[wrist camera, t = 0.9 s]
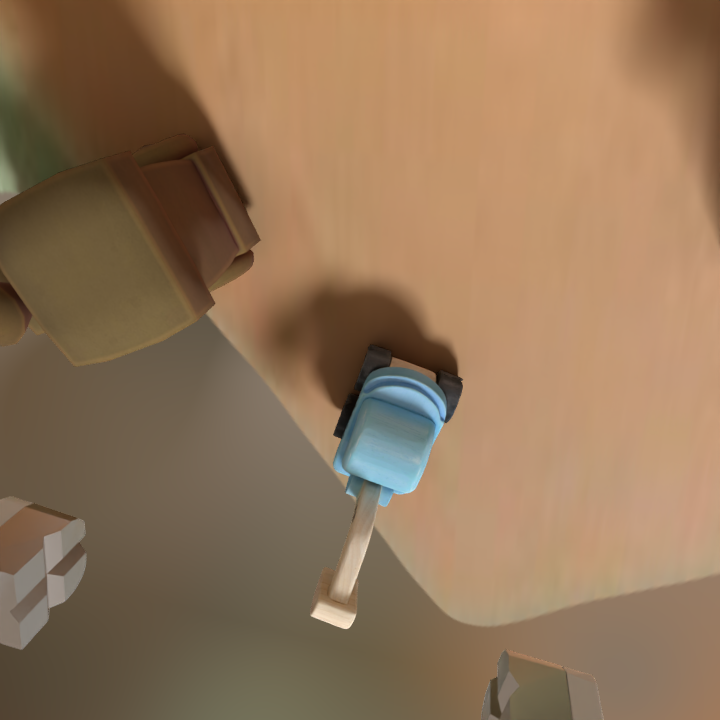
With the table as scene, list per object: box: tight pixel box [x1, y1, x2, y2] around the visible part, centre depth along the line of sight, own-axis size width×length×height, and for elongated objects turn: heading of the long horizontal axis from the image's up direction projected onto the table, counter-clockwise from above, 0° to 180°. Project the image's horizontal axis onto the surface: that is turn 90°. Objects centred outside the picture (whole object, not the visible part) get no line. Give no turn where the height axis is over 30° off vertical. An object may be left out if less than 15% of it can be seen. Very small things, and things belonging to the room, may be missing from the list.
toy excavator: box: [310, 345, 463, 629], centre depth 45 cm, size 9×17×17 cm, turn 162°
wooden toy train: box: [0, 134, 260, 367], centre depth 41 cm, size 20×11×17 cm, turn 114°
